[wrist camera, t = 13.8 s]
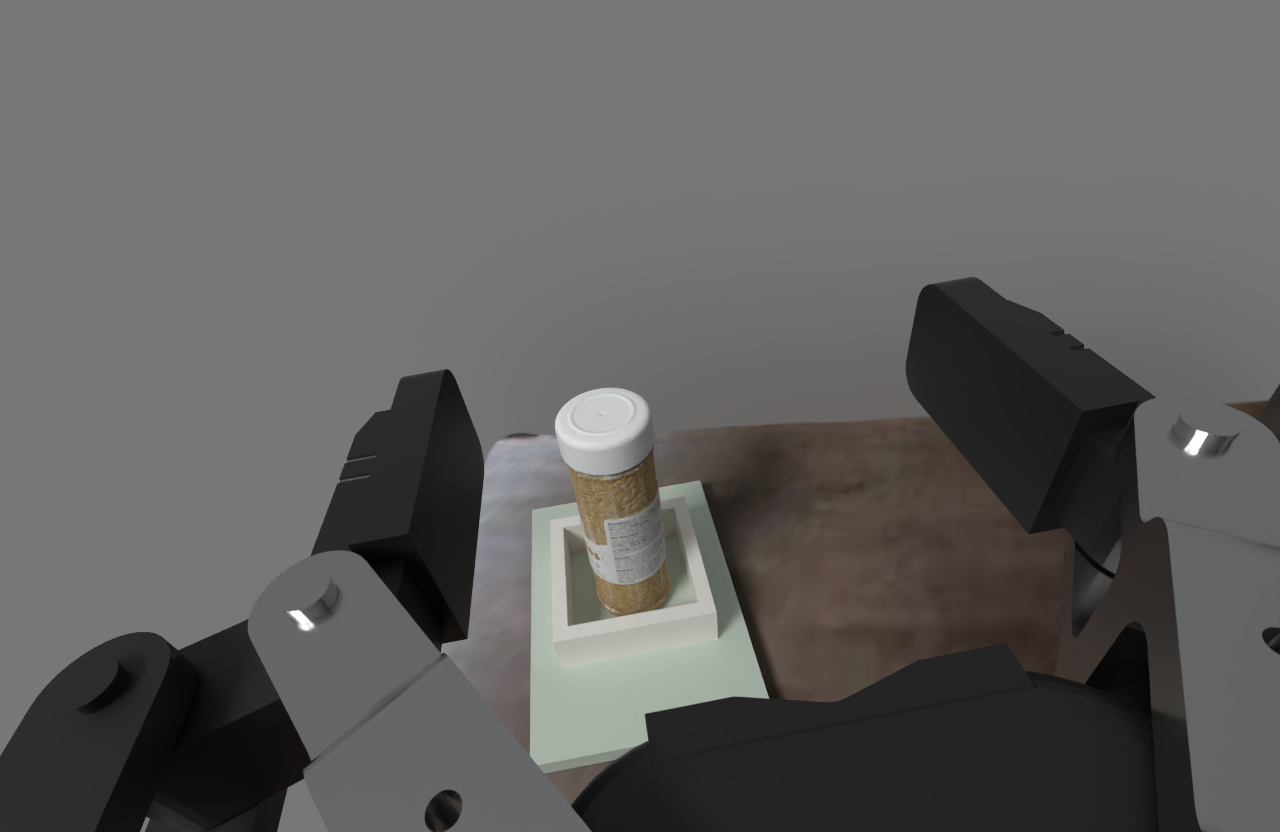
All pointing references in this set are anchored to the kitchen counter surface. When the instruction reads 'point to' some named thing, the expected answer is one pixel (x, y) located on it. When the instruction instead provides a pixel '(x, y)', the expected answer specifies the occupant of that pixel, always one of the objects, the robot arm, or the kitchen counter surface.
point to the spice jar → (617, 496)
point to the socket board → (629, 638)
